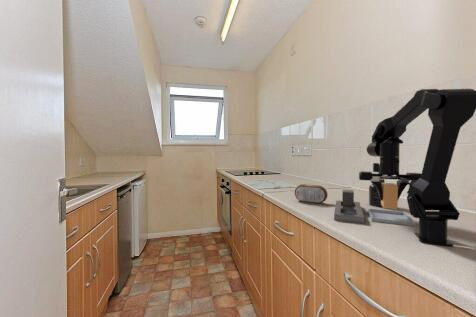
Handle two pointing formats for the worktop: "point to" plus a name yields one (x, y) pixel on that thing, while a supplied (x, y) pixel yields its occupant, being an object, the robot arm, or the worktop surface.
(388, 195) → the orange block
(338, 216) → the grey slotted frame
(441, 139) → the robot arm
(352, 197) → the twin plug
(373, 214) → the tray
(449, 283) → the worktop surface
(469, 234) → the worktop surface
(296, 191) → the portable speaker
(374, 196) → the supplement bottle
